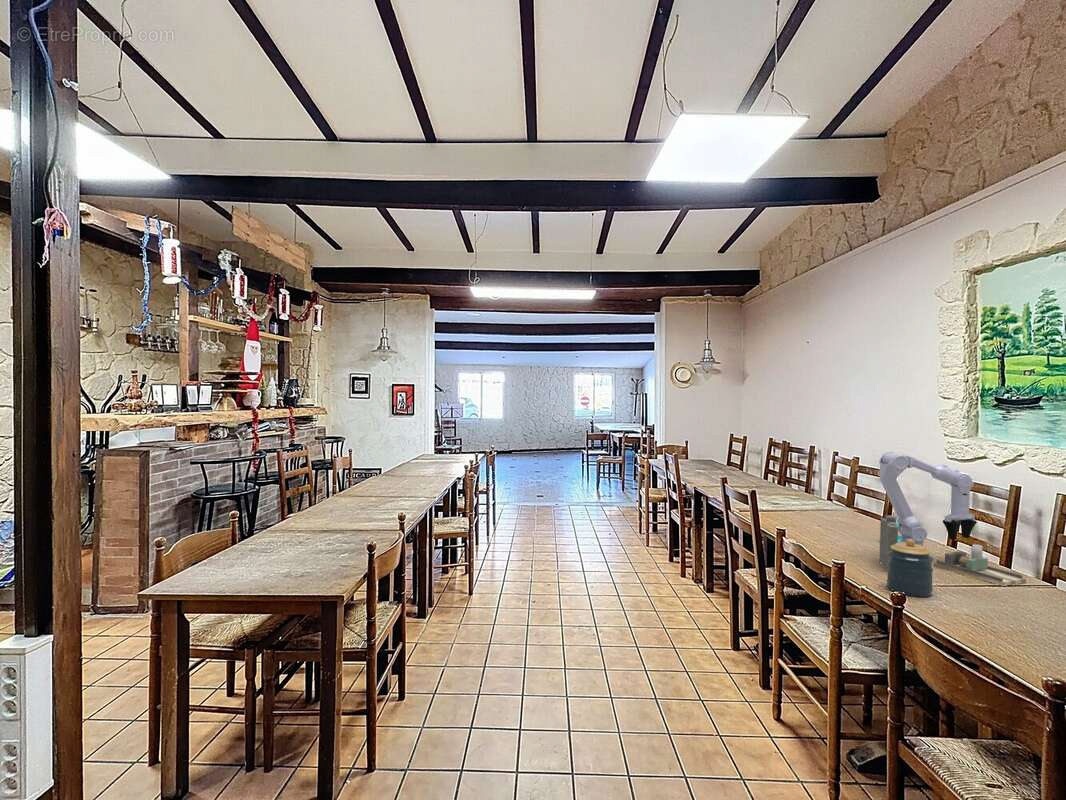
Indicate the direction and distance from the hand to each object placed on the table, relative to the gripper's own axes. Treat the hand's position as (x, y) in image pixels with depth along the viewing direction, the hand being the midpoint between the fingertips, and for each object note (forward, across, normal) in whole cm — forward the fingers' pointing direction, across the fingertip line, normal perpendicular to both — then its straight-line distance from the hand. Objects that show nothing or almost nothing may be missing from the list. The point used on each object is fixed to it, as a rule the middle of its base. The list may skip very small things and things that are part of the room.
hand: (959, 538), depth 220 cm
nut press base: (+10, -5, -10) cm, 15 cm away
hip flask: (+11, -30, +6) cm, 32 cm away
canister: (+11, -47, -14) cm, 50 cm away
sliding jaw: (+9, -5, -10) cm, 14 cm away
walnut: (+7, -5, -6) cm, 10 cm away
